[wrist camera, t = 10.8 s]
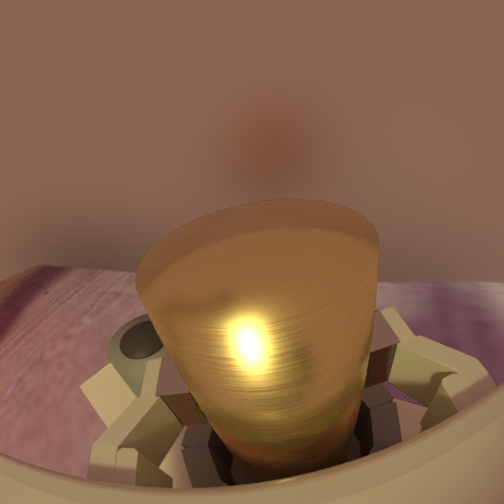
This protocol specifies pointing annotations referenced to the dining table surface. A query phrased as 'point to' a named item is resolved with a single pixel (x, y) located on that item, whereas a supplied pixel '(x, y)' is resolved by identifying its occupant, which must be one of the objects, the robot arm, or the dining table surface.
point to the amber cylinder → (270, 326)
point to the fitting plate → (174, 463)
